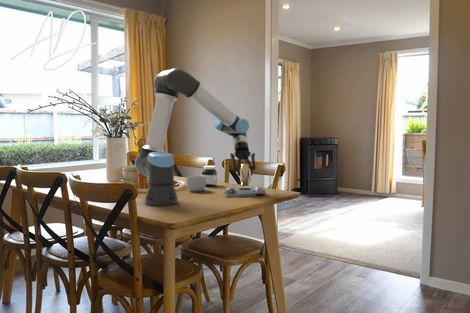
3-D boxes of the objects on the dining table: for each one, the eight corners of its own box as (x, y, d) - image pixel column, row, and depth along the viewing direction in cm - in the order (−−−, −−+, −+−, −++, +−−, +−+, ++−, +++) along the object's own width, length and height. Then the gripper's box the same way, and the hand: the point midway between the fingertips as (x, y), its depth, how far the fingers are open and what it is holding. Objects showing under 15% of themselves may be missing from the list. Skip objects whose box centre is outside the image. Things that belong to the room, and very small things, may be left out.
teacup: (202, 192, 218) (202, 178, 218) (183, 192, 220) (183, 177, 220) (209, 188, 232) (209, 174, 231) (191, 188, 234) (191, 174, 233)
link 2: (236, 196, 207) (236, 189, 207) (233, 193, 217) (233, 186, 217) (265, 196, 209) (265, 189, 209) (261, 192, 219) (261, 186, 219)
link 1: (226, 197, 206) (226, 190, 206) (224, 193, 216) (224, 186, 216) (256, 196, 208) (256, 189, 208) (252, 192, 218) (252, 186, 218)
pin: (241, 186, 210) (241, 164, 209) (240, 184, 214) (240, 163, 213) (249, 185, 211) (249, 164, 210) (248, 184, 214) (248, 163, 213)
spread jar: (212, 187, 235) (211, 167, 234) (194, 186, 239) (194, 166, 238) (220, 184, 246) (220, 165, 245) (203, 183, 250) (203, 164, 249)
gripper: (255, 150, 227) (261, 184, 212) (225, 150, 225) (228, 185, 210) (257, 140, 221) (263, 175, 206) (226, 141, 219) (230, 176, 204)
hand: (246, 180), depth 208 cm, fingers closed on pin, 4 cm apart
